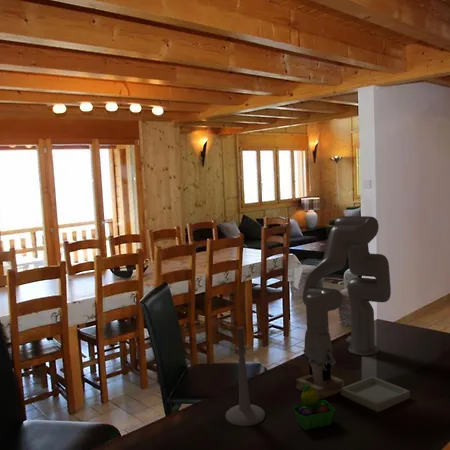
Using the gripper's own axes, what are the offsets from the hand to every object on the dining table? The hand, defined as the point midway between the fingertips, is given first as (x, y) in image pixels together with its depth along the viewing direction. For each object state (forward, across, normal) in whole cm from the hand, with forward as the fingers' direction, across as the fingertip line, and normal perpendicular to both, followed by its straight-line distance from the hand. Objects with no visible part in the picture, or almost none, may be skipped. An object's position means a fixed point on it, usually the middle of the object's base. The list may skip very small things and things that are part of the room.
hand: (320, 376), depth 177 cm
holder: (+5, 0, 0) cm, 5 cm away
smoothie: (+5, 0, 0) cm, 5 cm away
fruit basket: (+5, +16, -18) cm, 25 cm away
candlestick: (+5, -1, -32) cm, 33 cm away
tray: (+5, +16, +10) cm, 19 cm away
